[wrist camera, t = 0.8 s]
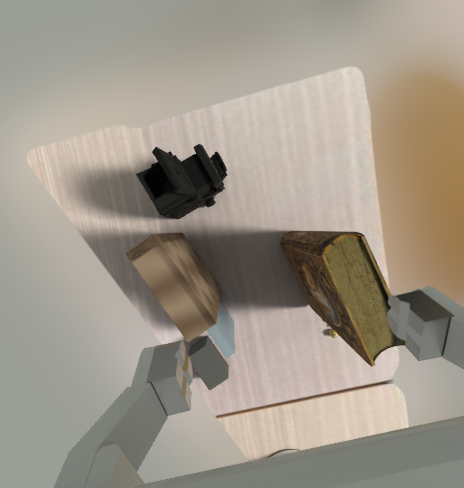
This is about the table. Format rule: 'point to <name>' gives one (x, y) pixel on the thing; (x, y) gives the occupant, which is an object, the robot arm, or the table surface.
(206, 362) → the block
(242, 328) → the table surface
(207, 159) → the camera
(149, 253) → the open wooden box
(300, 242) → the book
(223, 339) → the door panel
